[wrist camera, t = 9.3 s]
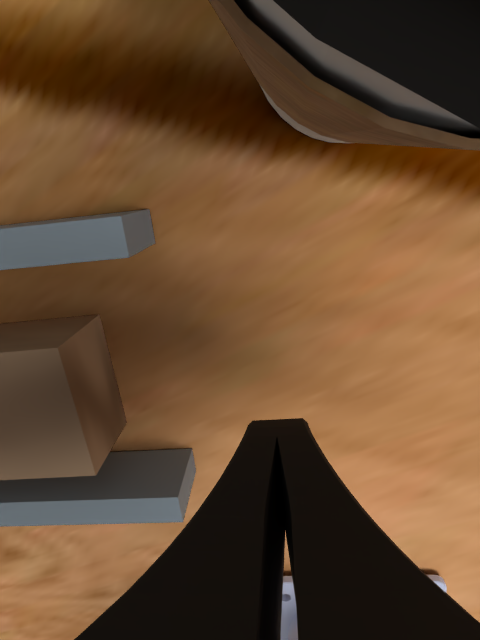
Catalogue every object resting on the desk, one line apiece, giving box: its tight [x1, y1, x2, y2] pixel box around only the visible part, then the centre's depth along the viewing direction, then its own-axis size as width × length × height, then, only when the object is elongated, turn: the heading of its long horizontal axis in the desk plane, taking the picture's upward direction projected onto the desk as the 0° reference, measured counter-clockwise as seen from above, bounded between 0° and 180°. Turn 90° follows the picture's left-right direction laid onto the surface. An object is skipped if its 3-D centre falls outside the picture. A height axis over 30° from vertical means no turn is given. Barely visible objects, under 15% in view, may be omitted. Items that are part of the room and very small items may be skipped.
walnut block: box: [0, 314, 127, 480], centre depth 15 cm, size 5×8×4 cm, turn 97°
